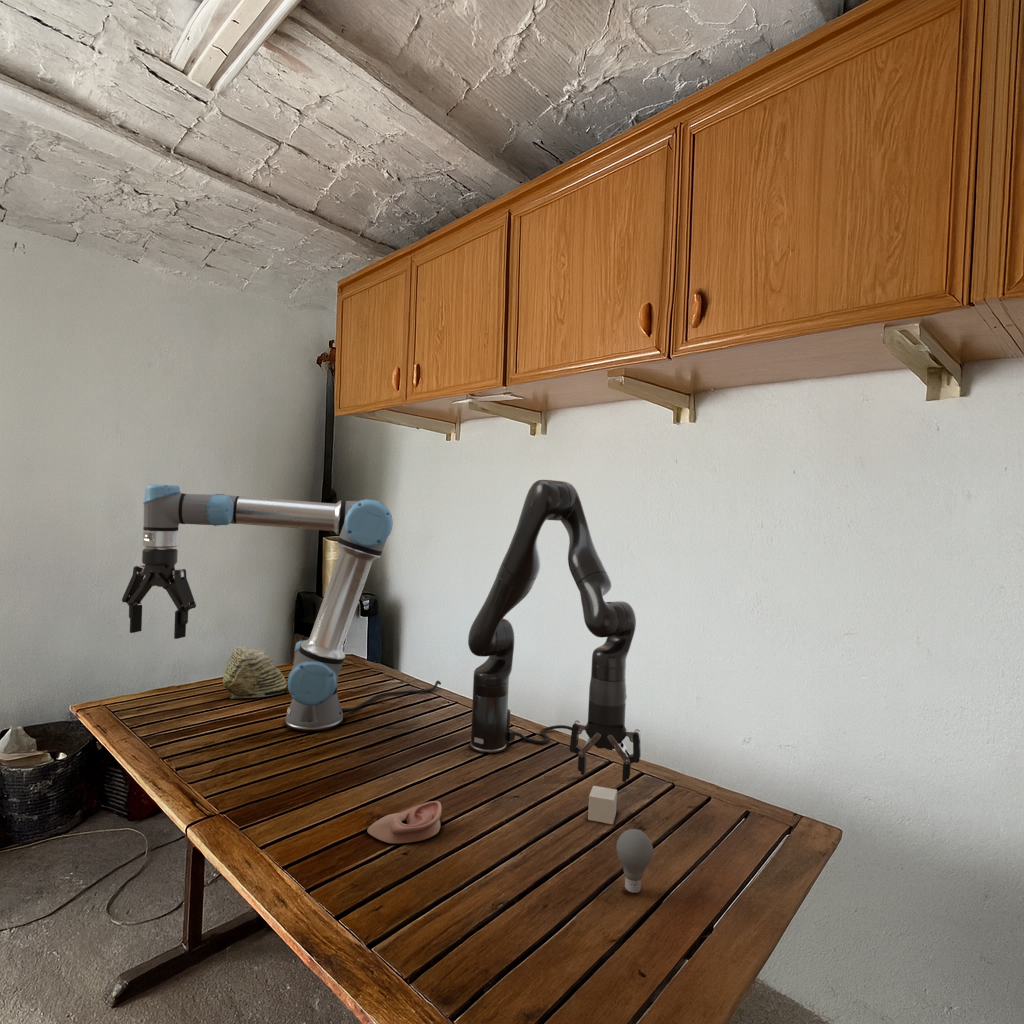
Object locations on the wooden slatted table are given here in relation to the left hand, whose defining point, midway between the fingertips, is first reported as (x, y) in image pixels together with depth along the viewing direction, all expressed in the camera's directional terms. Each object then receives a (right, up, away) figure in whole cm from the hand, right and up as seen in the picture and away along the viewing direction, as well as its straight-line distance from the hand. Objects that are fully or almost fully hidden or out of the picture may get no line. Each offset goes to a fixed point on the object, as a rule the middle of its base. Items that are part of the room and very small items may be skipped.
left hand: (157, 634), depth 154 cm
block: (+105, -33, -24) cm, 113 cm away
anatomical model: (+66, -31, -32) cm, 80 cm away
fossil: (+6, -27, +44) cm, 52 cm away
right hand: (+105, -25, -24) cm, 111 cm away
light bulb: (+107, -33, -49) cm, 122 cm away
